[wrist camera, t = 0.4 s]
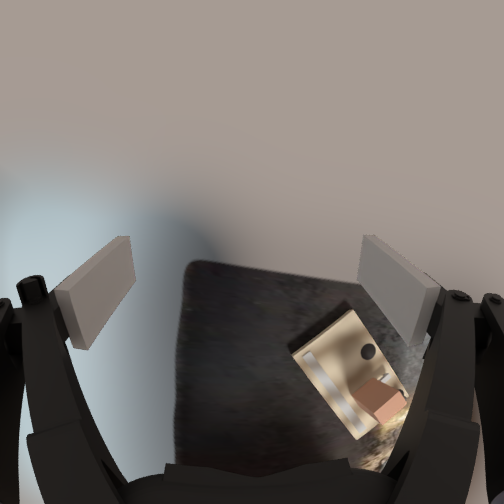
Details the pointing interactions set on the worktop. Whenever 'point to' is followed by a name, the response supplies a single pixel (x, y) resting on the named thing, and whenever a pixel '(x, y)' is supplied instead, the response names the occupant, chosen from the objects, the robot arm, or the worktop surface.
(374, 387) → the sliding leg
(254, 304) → the worktop surface
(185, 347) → the worktop surface
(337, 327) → the board
